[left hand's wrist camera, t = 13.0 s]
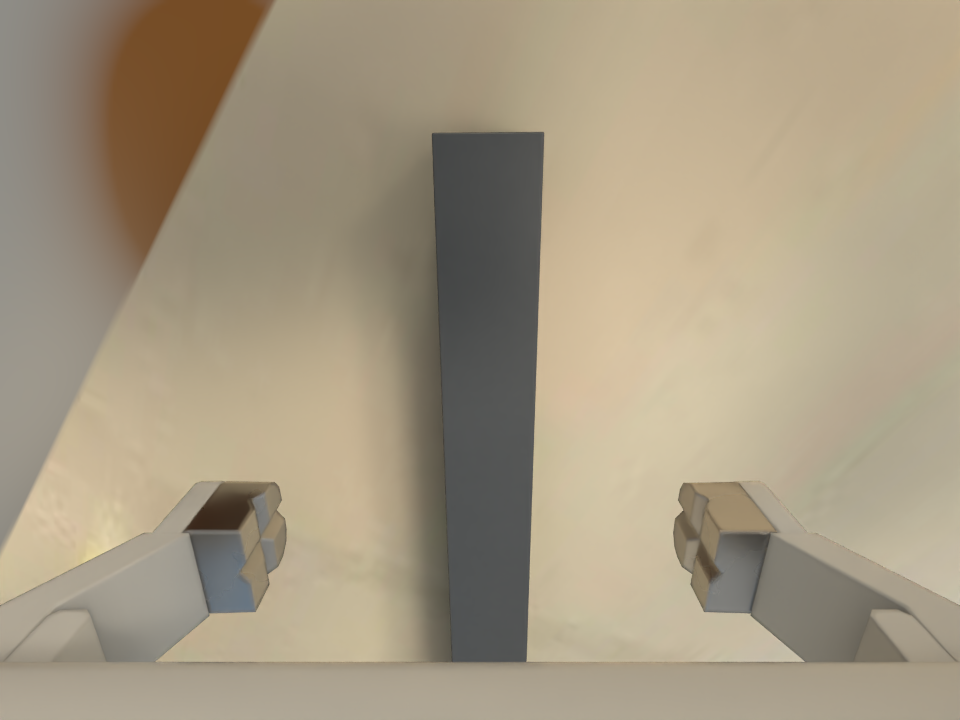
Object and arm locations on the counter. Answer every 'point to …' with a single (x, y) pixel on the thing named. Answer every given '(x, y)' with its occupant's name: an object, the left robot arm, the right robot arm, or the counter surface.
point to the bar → (488, 379)
